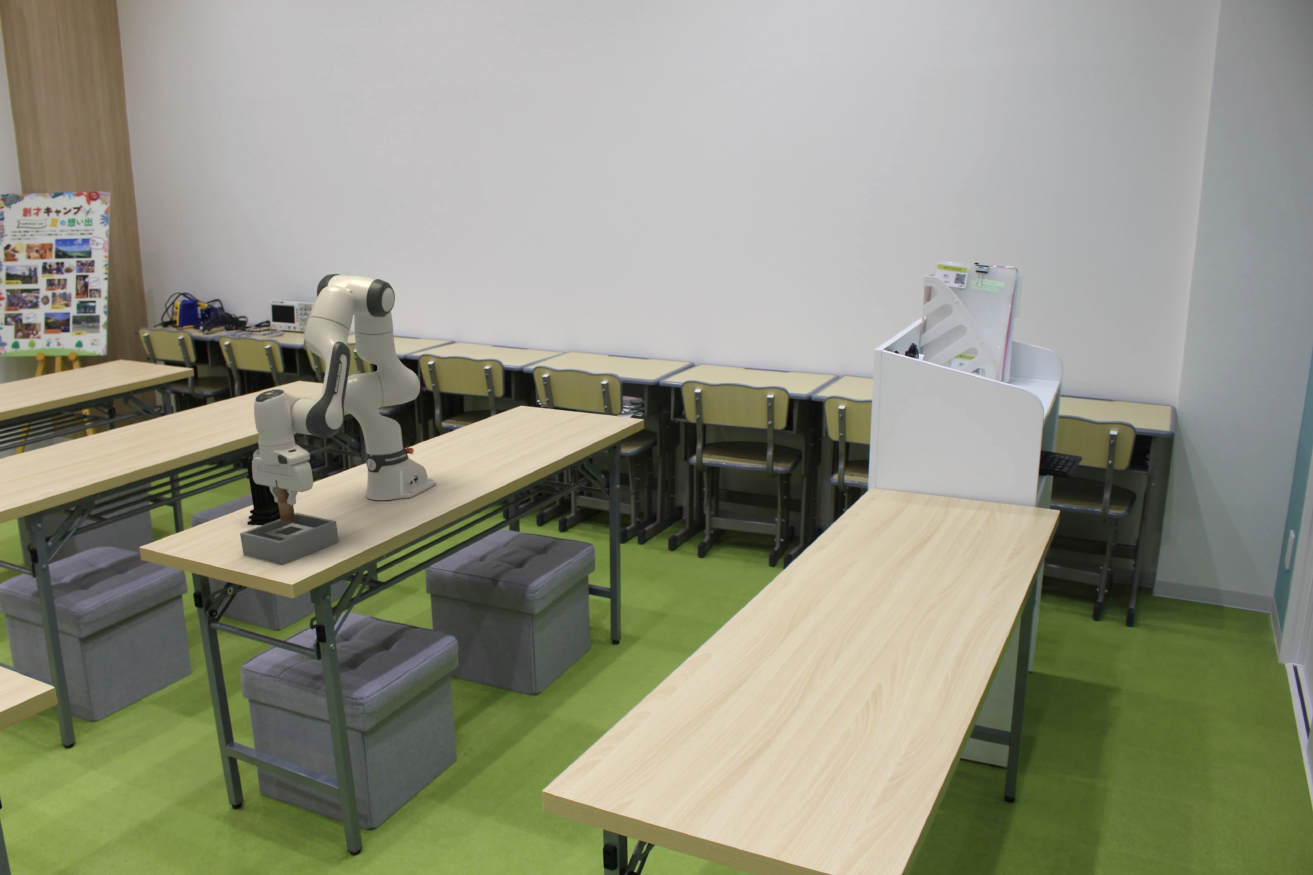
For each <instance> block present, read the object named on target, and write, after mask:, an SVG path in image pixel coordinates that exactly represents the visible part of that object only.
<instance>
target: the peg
mask: <svg viewBox="0 0 1313 875" xmlns="http://www.w3.org/2000/svg"><path fill="white" fill-rule="evenodd" d="M275 482H276V493H277V499H278V506H279V512H280V519H281V523H282V524H289V523H293V522H295V521H296V520H295V513H296V512H295V509H294V508H295V507H294V505H288V504H287V500H286V499H287V498H288V497H289V493H288V491H287V489H282V488H279V487H278V486H277V480H275Z"/></svg>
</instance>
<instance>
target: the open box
mask: <svg viewBox="0 0 1313 875" xmlns="http://www.w3.org/2000/svg"><path fill="white" fill-rule="evenodd" d="M294 513H295V520H296V521H295V522H293V523H295V524H299V525H303V526H308V527H312V528H313V529H310V530H308V531H305V532H302V533H300V534H297V535H295V536H292V537H289V538H287V539H284V540H281V541H278V540H274V539H270V538H266V537H264V533H267V532H269V531H272V530H275V529H277V528H280V527H283V526H286V525H288V524H282V523H281V519H279V520H276V521H273V522H270V523H267V524H265V525H258V526H256V527H254V528H250V529H248V530H246V531H243V532H240V533H239V536H240V542H241V547H242V553H243V554H242V555H243V556H246V557H251V558H255V559H258V560H262V561H266V562H270V563H275V564H278V565H282V566H284V565H286V564H289V563H290V562H291V563H292V562H294V561H295V560H298V559H302V558H303V557H306V556H308V555H311V554H313V553H315V552H319V551H320V550H323V549H326V548H328V547H330V546H333V545H335V544H338V543H339V542H340V539H339V534H338V533H339V532H338V525H337V521H336V520H333V519H328V518H323V517H318V516H314V515H309V514H304V513H300V512H297V513H296V512H294ZM289 524H291V523H289Z"/></svg>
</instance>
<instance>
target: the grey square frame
mask: <svg viewBox="0 0 1313 875" xmlns="http://www.w3.org/2000/svg"><path fill="white" fill-rule="evenodd" d="M310 529H313V528H312V527H308V526H303V525H299V524H295V523H291V524H288V525H286V526H283V527H280V528H277V529H275V530H272V531H269V532H267V533H264V537H266V538H270V539H274V540H278V541H281V540H284V539H287V538H289V537H292V536H295V535H297V534H300V533H302V532H305V531H308V530H310Z"/></svg>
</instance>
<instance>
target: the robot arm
mask: <svg viewBox="0 0 1313 875" xmlns="http://www.w3.org/2000/svg"><path fill="white" fill-rule="evenodd" d="M316 297H317V298H315V302H314V304H313V305H312V307H311V308H312V309H311V311H310V312H309V316H308V318H307V321H306V325H305V328H304V336H303V338H304V341H305V344H306V346H307V347H308V349H309V350H310V351H311V352H312V354H315V356H317V357H319V358H321V359H322V360H323V362H324V365H325V372H324V376H323V377H324V378H323V384H322V390H321V394H320V396H319V397H317V398H312V397H311V398H309V397H302V396H297V395H294V394H289V393H287V392H286V391H285V390H283V389H279V388H278V389H277V388H276V389H272V390H266V391H263V392H261V393H260V394H258V395H257V396H256V397H255V399H254V403H253V412H254V413H253V415H254V423H255V429H256V432H257V433H258V442H257V443H258V449H256V450H254V451H255V452H254V451H253V452H254V454H253V458H254V459H253V460H252V474H253V480H254V482H255V483H256V484H260V485H266V486H269V487H270V491H271V492H272V494H273V496H274V500H275V502H278V499H277V493H276V482H275V480H277V486H278V487H279V488H282V489H287V491H288V493H289V497H288V498H287V499H286V500H287V504H288V505H293V506H295V505H297V495H298V492H299V493H304V492H308V491H311V490H312V489H313V486H314V479H313V477H314V476H313V472H312V467H311V464H310V462H309V460H310V459H311V456H310V453H309V451H307V450H306V449H304V448H303V447H301V446H300V445H298V444H297V443H296V440H295V435H296V434H303V435H309V436H310V435H311V436H314V437H319V438H322V439H330V438H332V437H334V436H335V435H336V434H338V433H339V432H340V430H341V429H342V427H343V425H344V421H345V411H346V412H348V413H349V414H350V415H351V416H353V417H354V418H355V419H356V421H357V422H358V423H359V425H360V427H361V430H362V434H363V438H364V445H365V452H364V454H365V455H364V456H365V457H364V458H365V464H366V467H367V468H366V469H367V487H366V494H365V497H366V498H367V499H369V500H373V501H389V500H390V501H392V500H398V499H409V498H410V499H411V498H413V497H415V496H417V495H419V494H420V493H422V492H424V491H426V490H428V489H430V488H432V487H434V486H435V485H436V484H437V482H436V480H434V479H431V478H428V474H427V470H426V468H425V467H424V466H423V465H422V464H420V463H418V462H417V461H415V460H413V459H411V458H410V457H409V455H413V454H414V452H415V449H414V448H413V447H410V446H409V447H408V446H407V447H403V446H404V444H403V435H402V427H401V425H400V423H399V422H398V421H397V420H395V419H393V418H390V417H387V416H384V415H382V414H380V413H381V412H380V410H379V409H380V408H382V407H391V406H396V405H397V406H398V405H403V404H406V403H409V402H411V401H414V400H416V399H417V398H418V396H419V394H420V391H421V384H420V383H421V382H420V379H419V377H418V375H417V374H416V373H415V372H414V371H413V370H412V369H410V368H408V367H407V366H406V365H405V364H403V363H402V362H401V360H400V359H399V357H398V354H397V352H396V346H395V337H394V324H393V317H392V310H393V308H394V307H395V301H396V294H395V290H394V289H393V287H392V286H391V283H390V282H387V281H385V280H383V279H380V278H376V279H375V278H372V277H368V276H364V275H363V276H362V275H350V274H349V275H348V274H338V273H332V274H331V273H330V274H326V275H324V276H323V277H322V278H321V279H320V281H319V282H318V284H317V287H316ZM353 319H354V320H353ZM352 322H354V323H352ZM352 324H354V326H353V327H354V340H355V352H356V354H357V356H358V357H359V358H360V359H361V360H363V361H364V362H366V363H369V364H373V365H376V366H377V368H376V369H377V370H376V371H370V372H362V373H361V372H360V373H353V374H351V375H349V374H350V367H351V357H352V356H351V355H352V354H351V350H350V348H349V346H348V342H349V339H348V338H349V334H350V331H351V327H352ZM408 454H409V455H408Z"/></svg>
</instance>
